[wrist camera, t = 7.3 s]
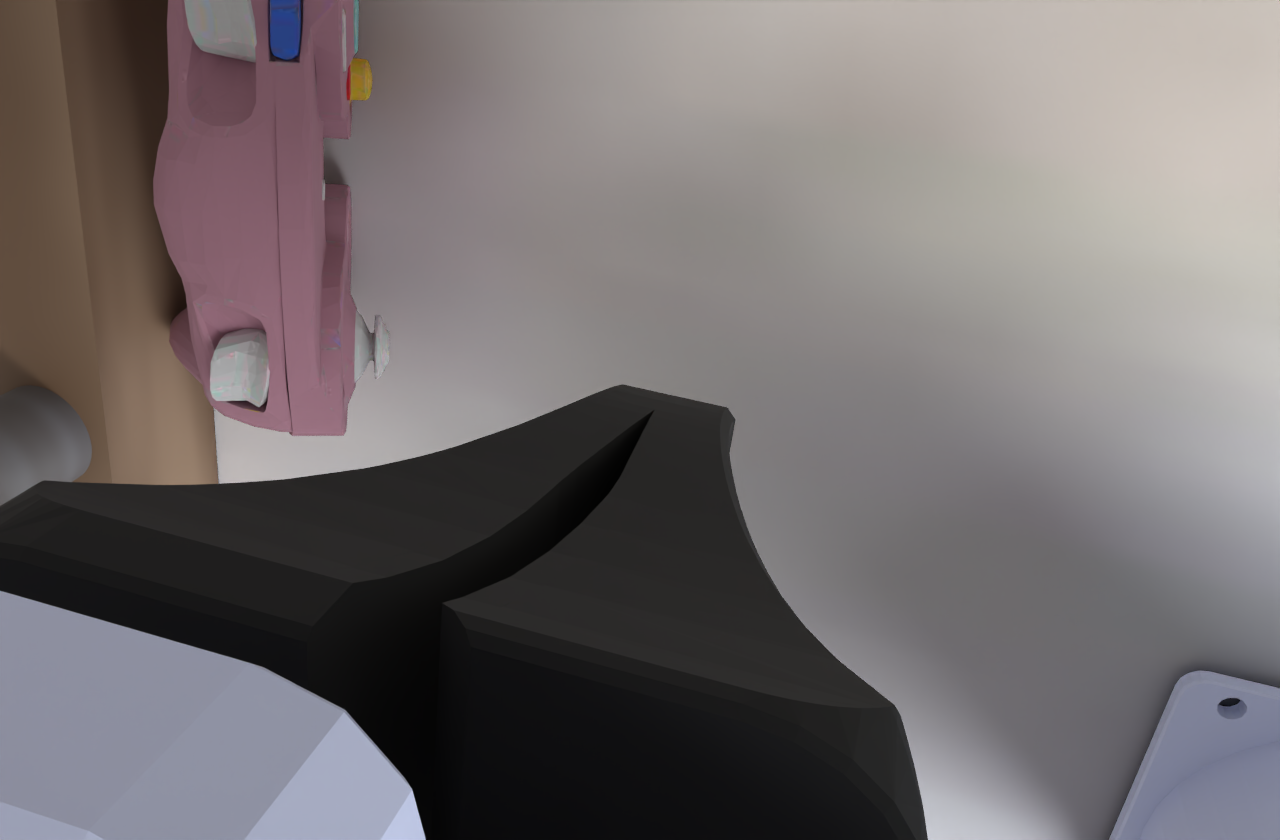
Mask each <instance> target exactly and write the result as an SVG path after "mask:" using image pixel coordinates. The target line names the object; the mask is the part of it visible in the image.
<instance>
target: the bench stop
mask: <svg viewBox="0 0 1280 840" xmlns="http://www.w3.org/2000/svg"><path fill="white" fill-rule="evenodd" d="M167 13H168V0H0V506H1V505H3V504H4V503H6V502H8V501H9V500H11V499H13V498H14V497H16V496H18V495H19V494H21V493H22V492H24V491H26V490H27V489H29V488H31V487H32V486H34V485H36V484H37V483H39V482H41V481H44V480H47V481H62V482H84V483H115V484H145V485H197V484H218V471H217V456H216V441H215V426H214V411H213V406H211V404H210V402H209V401H208V399H207V397H206V396H205V393H204V389H203V385H202V384H201V383H200V382H199V381H198V380H197V379H196V378H195V377H194V376H193V375H192V374H191V373H190V372H189V371H188V370H187V369H186V368H185V367H184V366H183V364H182V363H181V362H180V361H179V360H178V358H177V357H176V356H175V354H174V351H173V349H172V347H171V345H170V342H169V336H170V325H171V323H172V321H173V319H174V318H175V317H176V316H177V315H178V314H179V313H180V312H181V311H183V310H184V309H186V308H187V302H186V294H185V290H184V286H183V282H182V278H181V276H180V275H179V273H178V271H177V269H176V267H175V265H174V263H173V261H172V259H171V257H170V255H169V253H168V250H167V247H166V243H165V240H164V237H163V234H162V230H161V227H160V224H159V220H158V217H157V214H156V210H155V207H154V193H153V178H154V171H155V165H156V158H157V152H158V146H159V143H160V140H161V136H162V133H163V130H164V127H165V124H166V121H167V116H168V101H169V73H168V43H167Z"/></svg>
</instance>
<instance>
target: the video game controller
mask: <svg viewBox="0 0 1280 840" xmlns="http://www.w3.org/2000/svg"><path fill="white" fill-rule="evenodd" d="M358 18H359V2H358V0H168V13H167V43H168V73H169V101H168V116H167V121H166V124H165V127H164V130H163V133H162V136H161V140H160V143H159V146H158V152H157V158H156V165H155V171H154V178H153V193H154V207H155V210H156V214H157V217H158V220H159V224H160V227H161V230H162V234H163V237H164V240H165V243H166V247H167V250H168V253H169V255H170V257H171V259H172V261H173V263H174V265H175V267H176V269H177V271H178V273H179V275H180V276H181V278H182V282H183V286H184V290H185V294H186V302H187V308H186V309H184V310H183V311H181V312H180V313H179V314H178V315H177V316H176V317H175V318H174V319H173V321H172V323H171V325H170V336H169V342H170V345H171V347H172V349H173V351H174V354H175V356H176V357H177V358H178V360H179V361H180V362H181V363H182V364H183V366H184V367H185V368H186V369H187V370H188V371H189V372H190V373H191V374H192V375H193V376H194V377H195V378H196V379H197V380H198V381H199V382H200V383H201V384H202V385H203V389H204V393H205V396H206V397H207V399H208V401H209V402H210V404H211V406H213V407H214V408H215V409H217V410H218V411H219V412H220V413H222V414H223V415H224V416H227V417H230V418H232V419H235V420H238V421H241V422H243V423H246V424H249V425H252V426H254V427H260V428H265V429H270V430H275V431H281V432H289V433H290V434H291V435H292V436H339V435H344V434H345V432H346V425H347V408H348V403H349V400H350V398H351V396H352V393H353V391H354V389H355V383H356V381H357V380H358V379H359V378H360V377H361V376H362V374H363V372H364V370H365V368H366V366H367V364H368V362H369V361H370V360H373V361H374V373H375V379H378V378H379V377H381V374H382V372H383V371H385V367H386V365H387V364H388V363H389V348H390V340H389V331H388V330H387V329H386V327H385V323H384V322H383V321H382V318H381V316H380V315H375V329H374V333H370V332H369V330H368V328H367V326H366V324H365V322H364V320H363V318H362V315H361V314H360V313H359V312H358V311H357V308H356V306H355V303H354V301H353V298H352V296H351V294H350V284H351V194H350V187H349V186H347V185H340V184H325V179H324V165H323V138H339V139H349V138H350V137H351V121H352V100H367V99H369V96H370V94H371V89H372V81H373V80H372V72H371V68H370V65H369V62H368V61H367V60H366V59H359V58H353V57H354V55H355V54H356V53H357V51H358Z"/></svg>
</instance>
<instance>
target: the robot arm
mask: <svg viewBox="0 0 1280 840" xmlns="http://www.w3.org/2000/svg"><path fill="white" fill-rule="evenodd" d="M734 424H735V418H734V417H733V415H732V414H731V412H730V411H729V409H728V408H726V407H722V406H717V405H713V404H708V403H704V402H699V401H695V400H690V399H686V398H681V397H677V396H672V395H668V394H663V393H658V392H654V391H649V390H645V389H640V388H636V387H631V386H627V385H619V386H615V387H611V388H608V389H606V390H603V391H600V392H598V393H595V394H593V395H590V396H588V397H586V398H583V399H581V400H579V401H576V402H574V403H571V404H569V405H567V406H564V407H562V408H559V409H557V410H554V411H552V412H550V413H547V414H545V415H542V416H540V417H537V418H535V419H532V420H530V421H527V422H525V423H522V424H520V425H517V426H514V427H511V428H509V429H506V430H503V431H500V432H497V433H494V434H491V435H488V436H485V437H482V438H480V439H477V440H474V441H471V442H468V443H465V444H462V445H459V446H456V447H453V448H449V449H446V450H443V451H439V452H435V453H432V454H428V455H424V456H420V457H416V458H412V459H407V460H403V461H398V462H394V463H389V464H385V465H380V466H375V467H370V468H365V469H358V470H350V471H343V472H336V473H329V474H322V475H314V476H307V477H300V478H293V479H284V480H273V481H259V482H244V483H225V484H197V485H145V484H115V483H84V482H62V481H47V480H44V481H41V482H39V483H37V484H36V485H34V486H32V487H31V488H29V489H27V490H26V491H24V492H22V493H21V494H19V495H18V496H16V497H14V498H13V499H11V500H9V501H8V502H6V503H4V504H3V505H1V506H0V840H928V838H927V831H926V824H925V817H924V810H923V805H922V800H921V795H920V790H919V786H918V781H917V776H916V771H915V767H914V763H913V759H912V756H911V752H910V748H909V744H908V740H907V736H906V733H905V729H904V726H903V722H902V719H901V716H900V714H899V712H898V710H897V708H896V707H895V705H894V704H892V703H891V702H890V701H889V700H887V699H886V698H885V697H884V696H882V695H881V694H880V693H879V692H877V691H876V690H875V689H874V688H872V687H871V686H870V685H868V684H867V683H866V682H865V681H863V680H862V679H861V678H860V677H858V676H857V675H856V674H855V673H853V672H852V671H851V670H850V669H848V668H847V667H846V666H845V665H843V664H842V663H841V662H840V661H839V660H837V659H836V658H835V657H834V656H833V655H832V654H831V653H830V652H829V651H828V650H827V649H826V648H825V647H824V646H823V645H822V644H821V643H820V642H819V641H818V639H817V638H816V637H815V636H814V635H813V634H812V633H811V632H810V631H809V630H808V629H807V628H806V627H805V626H804V625H803V623H802V622H801V621H800V620H799V618H798V617H797V616H796V614H795V613H794V612H793V611H792V609H791V608H790V607H789V605H788V604H787V603H786V601H785V600H784V599H783V597H782V596H781V594H780V593H779V591H778V589H777V588H776V586H775V584H774V583H773V581H772V579H771V578H770V576H769V574H768V572H767V570H766V568H765V566H764V564H763V562H762V560H761V558H760V557H759V555H758V553H757V550H756V548H755V546H754V543H753V541H752V539H751V536H750V534H749V531H748V529H747V526H746V523H745V520H744V517H743V514H742V511H741V508H740V505H739V501H738V497H737V494H736V489H735V484H734V479H733V474H732V469H731V463H730V455H729V452H730V447H731V441H732V435H733V430H734ZM1227 698H1238V699H1240V700H1241V701H1240V702H1239V703H1238V704H1236V705H1234V706H1231V707H1225V706H1221V705H1219V703H1220V702H1221V701H1222V700H1224V699H1227ZM1109 840H1280V688H1277V687H1272V686H1268V685H1264V684H1260V683H1256V682H1252V681H1248V680H1244V679H1239V678H1235V677H1231V676H1227V675H1223V674H1219V673H1215V672H1210V671H1200V670H1199V671H1194V672H1190V673H1188V674H1186V675H1184V676H1182V677H1181V678H1180V679H1179V680H1178V682H1177V683H1176V684H1175V686H1174V689H1173V691H1172V693H1171V696H1170V698H1169V700H1168V703H1167V705H1166V707H1165V710H1164V712H1163V714H1162V717H1161V719H1160V721H1159V724H1158V726H1157V728H1156V731H1155V733H1154V735H1153V738H1152V740H1151V742H1150V745H1149V747H1148V749H1147V752H1146V754H1145V756H1144V759H1143V761H1142V763H1141V766H1140V768H1139V770H1138V773H1137V775H1136V777H1135V780H1134V782H1133V784H1132V787H1131V789H1130V791H1129V794H1128V796H1127V798H1126V801H1125V803H1124V805H1123V808H1122V810H1121V812H1120V815H1119V817H1118V819H1117V822H1116V824H1115V826H1114V829H1113V831H1112V833H1111V836H1110V838H1109Z"/></svg>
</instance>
